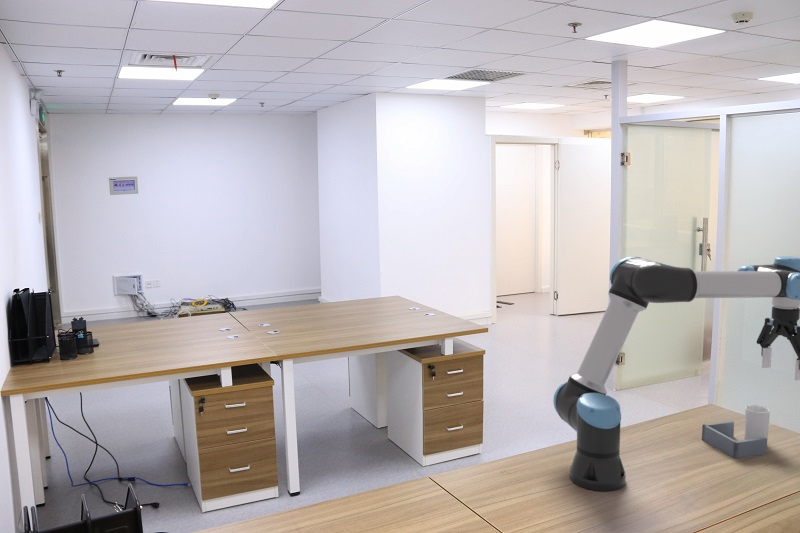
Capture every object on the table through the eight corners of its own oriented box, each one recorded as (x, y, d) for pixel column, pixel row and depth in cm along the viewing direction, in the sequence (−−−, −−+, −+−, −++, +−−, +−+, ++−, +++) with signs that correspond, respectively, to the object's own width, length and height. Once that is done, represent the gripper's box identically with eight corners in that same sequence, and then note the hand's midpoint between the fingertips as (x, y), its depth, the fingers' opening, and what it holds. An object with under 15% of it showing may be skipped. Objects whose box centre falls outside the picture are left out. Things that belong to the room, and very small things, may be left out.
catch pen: (735, 458, 198) (736, 442, 198) (701, 439, 213) (702, 424, 212) (766, 454, 201) (767, 438, 200) (731, 435, 215) (731, 420, 215)
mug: (766, 451, 203) (768, 414, 201) (741, 446, 207) (743, 410, 205) (770, 440, 211) (772, 404, 209) (747, 436, 215) (749, 400, 213)
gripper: (830, 313, 194) (825, 384, 197) (765, 298, 217) (762, 361, 220) (808, 315, 192) (804, 386, 195) (746, 300, 216) (743, 363, 219)
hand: (782, 373), depth 208 cm, fingers open, 12 cm apart
